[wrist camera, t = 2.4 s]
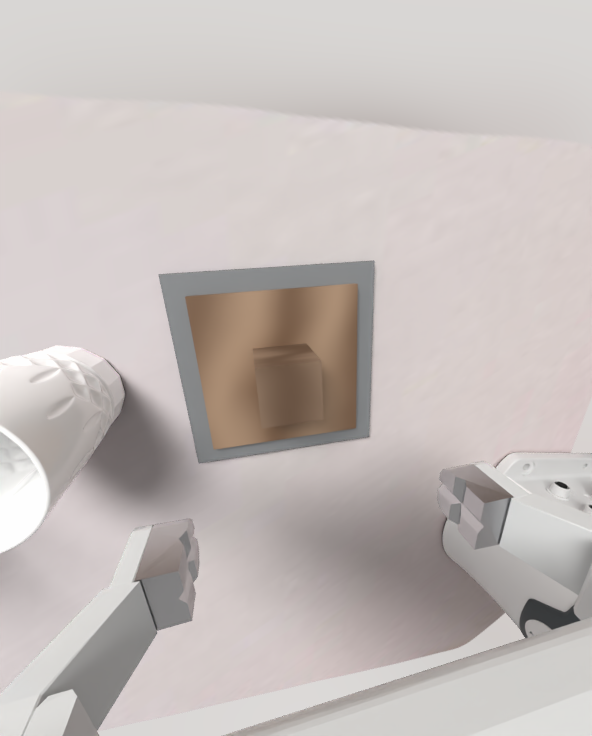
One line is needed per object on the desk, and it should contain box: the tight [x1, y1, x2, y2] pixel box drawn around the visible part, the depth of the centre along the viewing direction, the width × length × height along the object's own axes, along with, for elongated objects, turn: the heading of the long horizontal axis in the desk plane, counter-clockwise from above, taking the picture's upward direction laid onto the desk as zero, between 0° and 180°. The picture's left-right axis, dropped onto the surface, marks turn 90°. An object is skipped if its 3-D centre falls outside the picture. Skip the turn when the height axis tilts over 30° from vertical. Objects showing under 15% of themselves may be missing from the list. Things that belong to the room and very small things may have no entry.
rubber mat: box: [159, 261, 374, 463], centre depth 22 cm, size 15×15×1 cm
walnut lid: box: [185, 283, 358, 450], centre depth 20 cm, size 12×12×5 cm
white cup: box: [0, 345, 125, 554], centre depth 16 cm, size 8×8×10 cm
